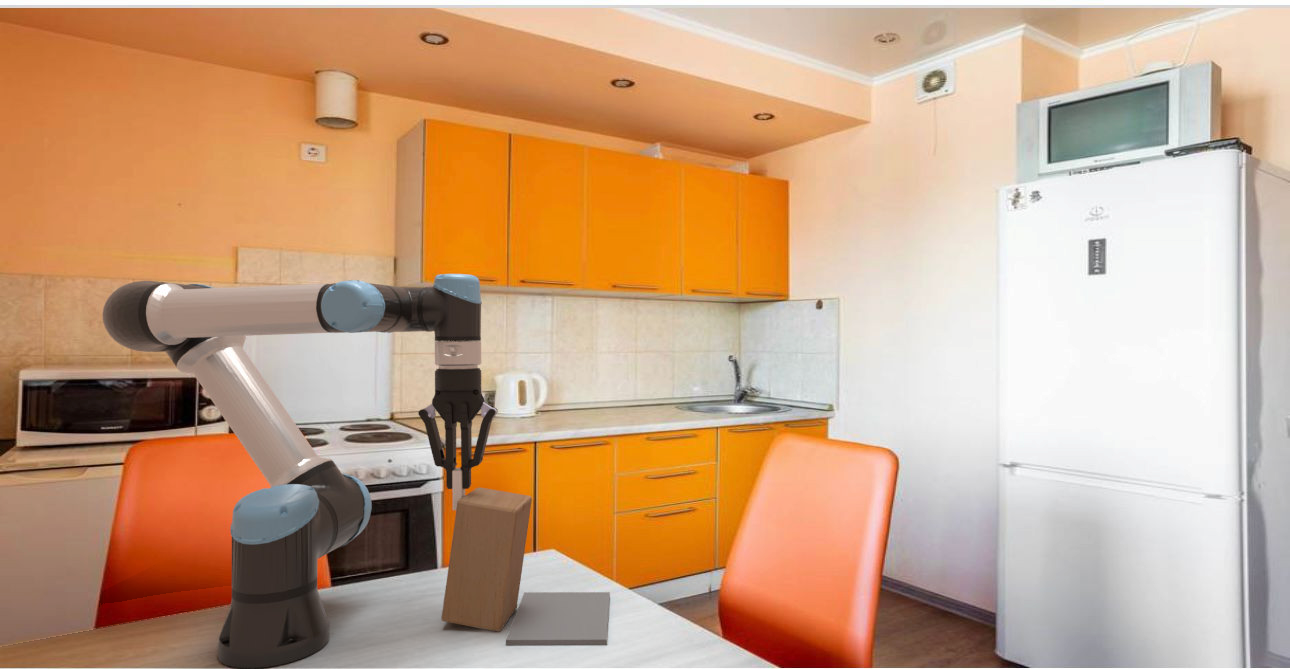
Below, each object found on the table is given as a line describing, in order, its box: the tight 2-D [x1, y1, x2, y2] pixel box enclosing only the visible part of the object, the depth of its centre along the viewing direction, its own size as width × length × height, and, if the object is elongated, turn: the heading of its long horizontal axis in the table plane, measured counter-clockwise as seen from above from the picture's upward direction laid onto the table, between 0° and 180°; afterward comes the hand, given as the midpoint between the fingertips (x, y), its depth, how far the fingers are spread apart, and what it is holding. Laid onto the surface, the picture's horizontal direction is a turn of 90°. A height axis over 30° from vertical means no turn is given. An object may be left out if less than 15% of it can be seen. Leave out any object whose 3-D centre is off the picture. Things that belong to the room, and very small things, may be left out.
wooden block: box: [441, 487, 533, 632], centre depth 120 cm, size 10×10×20 cm
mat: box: [505, 591, 611, 646], centre depth 120 cm, size 16×20×1 cm
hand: (459, 508), depth 120 cm, fingers closed
